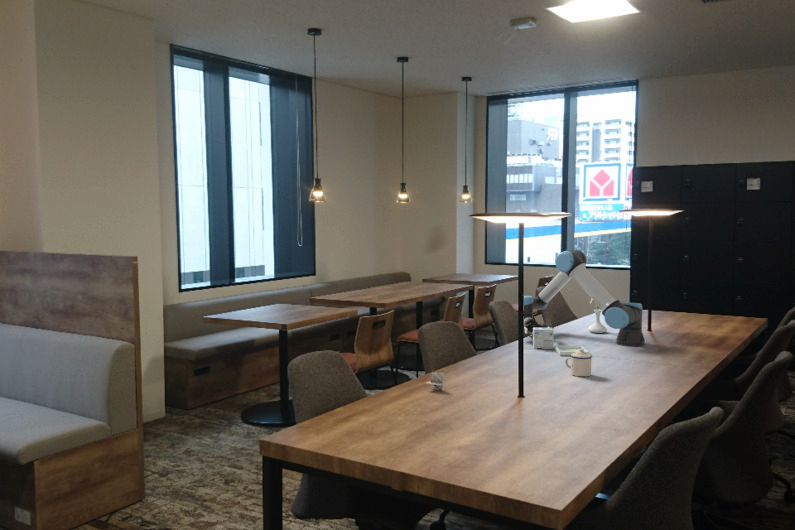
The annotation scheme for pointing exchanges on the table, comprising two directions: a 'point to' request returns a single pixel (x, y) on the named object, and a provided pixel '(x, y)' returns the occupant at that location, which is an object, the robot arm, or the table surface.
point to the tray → (568, 350)
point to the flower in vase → (597, 322)
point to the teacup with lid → (580, 363)
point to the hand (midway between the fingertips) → (538, 331)
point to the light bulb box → (543, 338)
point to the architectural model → (437, 381)
